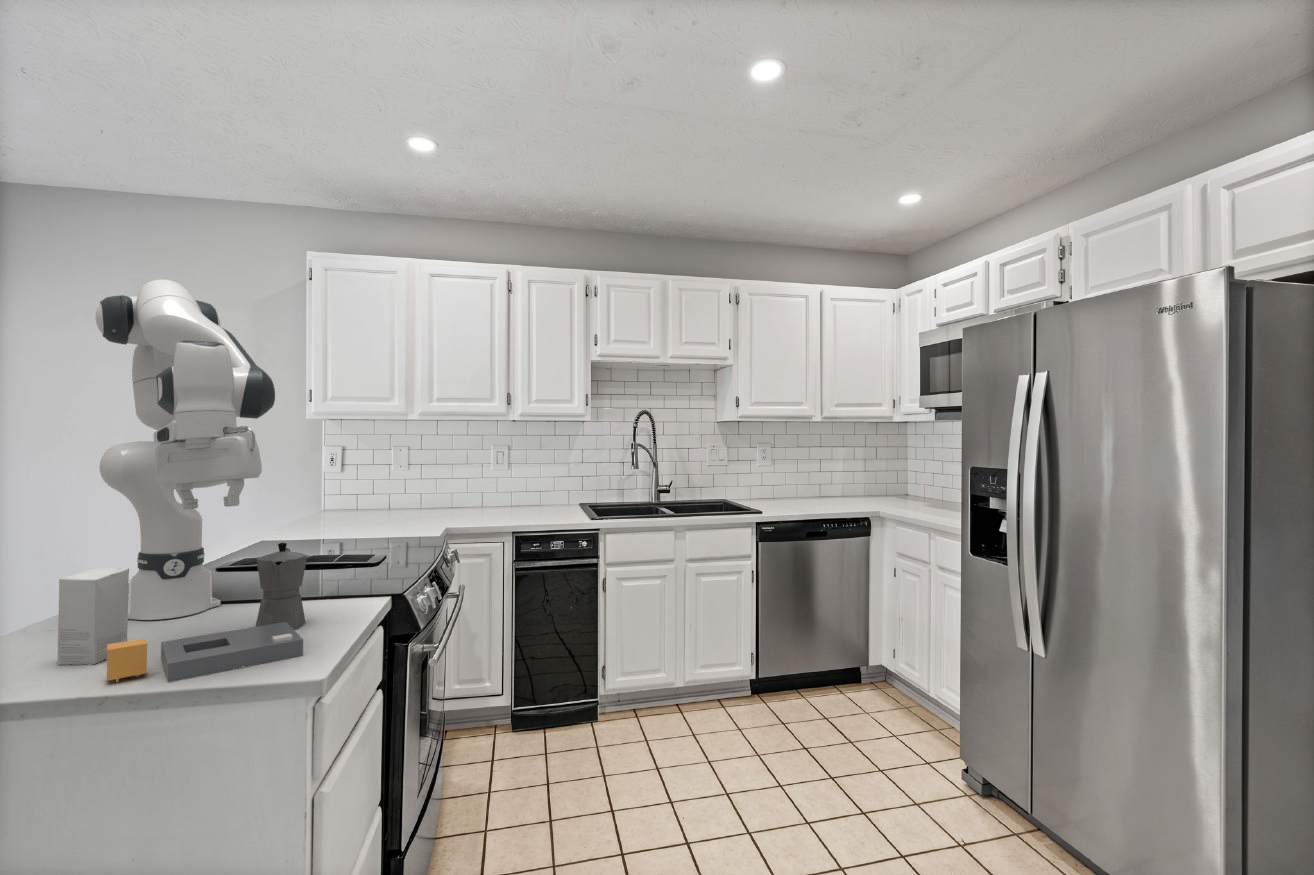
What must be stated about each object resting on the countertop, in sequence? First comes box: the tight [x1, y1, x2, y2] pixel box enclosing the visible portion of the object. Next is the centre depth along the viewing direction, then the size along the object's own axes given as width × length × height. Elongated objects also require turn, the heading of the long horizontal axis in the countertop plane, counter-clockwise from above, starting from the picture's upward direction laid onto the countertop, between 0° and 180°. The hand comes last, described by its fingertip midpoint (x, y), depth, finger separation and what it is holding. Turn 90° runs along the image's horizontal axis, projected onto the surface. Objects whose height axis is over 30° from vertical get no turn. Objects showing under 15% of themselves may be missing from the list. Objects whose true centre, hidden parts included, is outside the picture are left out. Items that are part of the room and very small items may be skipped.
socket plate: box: [160, 622, 304, 683], centre depth 115 cm, size 14×20×4 cm
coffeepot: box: [255, 542, 308, 630], centre depth 134 cm, size 15×9×18 cm, turn 25°
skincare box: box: [56, 567, 130, 666], centre depth 113 cm, size 8×7×16 cm
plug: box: [106, 638, 148, 683], centre depth 104 cm, size 4×5×6 cm
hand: (210, 507), depth 110 cm, fingers open, 8 cm apart
